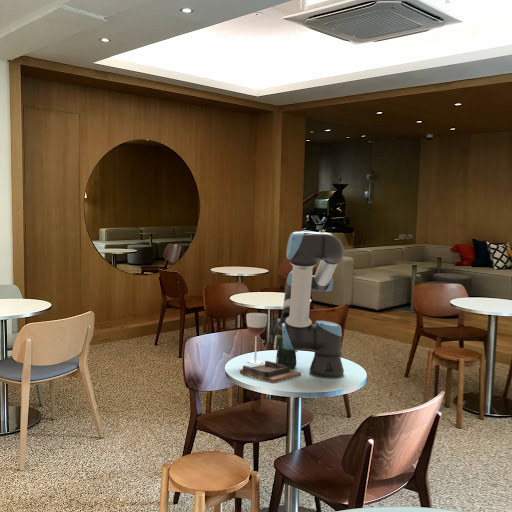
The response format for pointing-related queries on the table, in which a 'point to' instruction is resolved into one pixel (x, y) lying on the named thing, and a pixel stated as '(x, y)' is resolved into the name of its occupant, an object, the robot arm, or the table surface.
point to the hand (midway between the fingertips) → (285, 349)
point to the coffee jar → (284, 352)
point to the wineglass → (256, 327)
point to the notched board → (270, 372)
